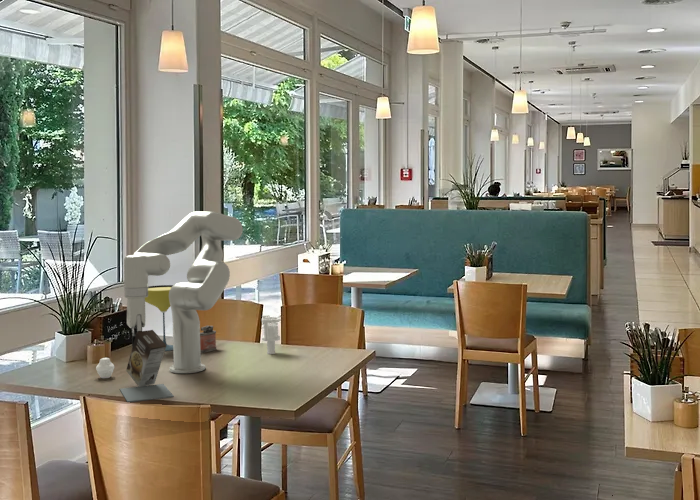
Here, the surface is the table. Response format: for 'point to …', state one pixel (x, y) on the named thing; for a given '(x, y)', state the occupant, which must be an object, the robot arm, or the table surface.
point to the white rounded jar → (105, 368)
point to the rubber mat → (146, 393)
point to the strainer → (270, 332)
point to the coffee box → (145, 358)
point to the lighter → (207, 339)
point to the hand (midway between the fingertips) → (137, 347)
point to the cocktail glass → (160, 303)
